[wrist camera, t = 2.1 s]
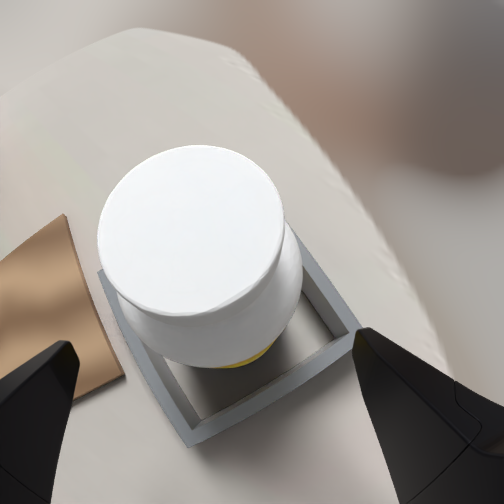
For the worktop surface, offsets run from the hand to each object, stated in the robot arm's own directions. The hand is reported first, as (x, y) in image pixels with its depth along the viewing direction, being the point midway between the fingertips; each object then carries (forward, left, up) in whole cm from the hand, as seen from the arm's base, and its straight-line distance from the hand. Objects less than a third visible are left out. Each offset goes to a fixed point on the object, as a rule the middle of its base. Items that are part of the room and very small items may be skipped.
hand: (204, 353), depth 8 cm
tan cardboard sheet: (+10, +14, -10) cm, 19 cm away
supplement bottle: (+3, -1, -10) cm, 11 cm away
